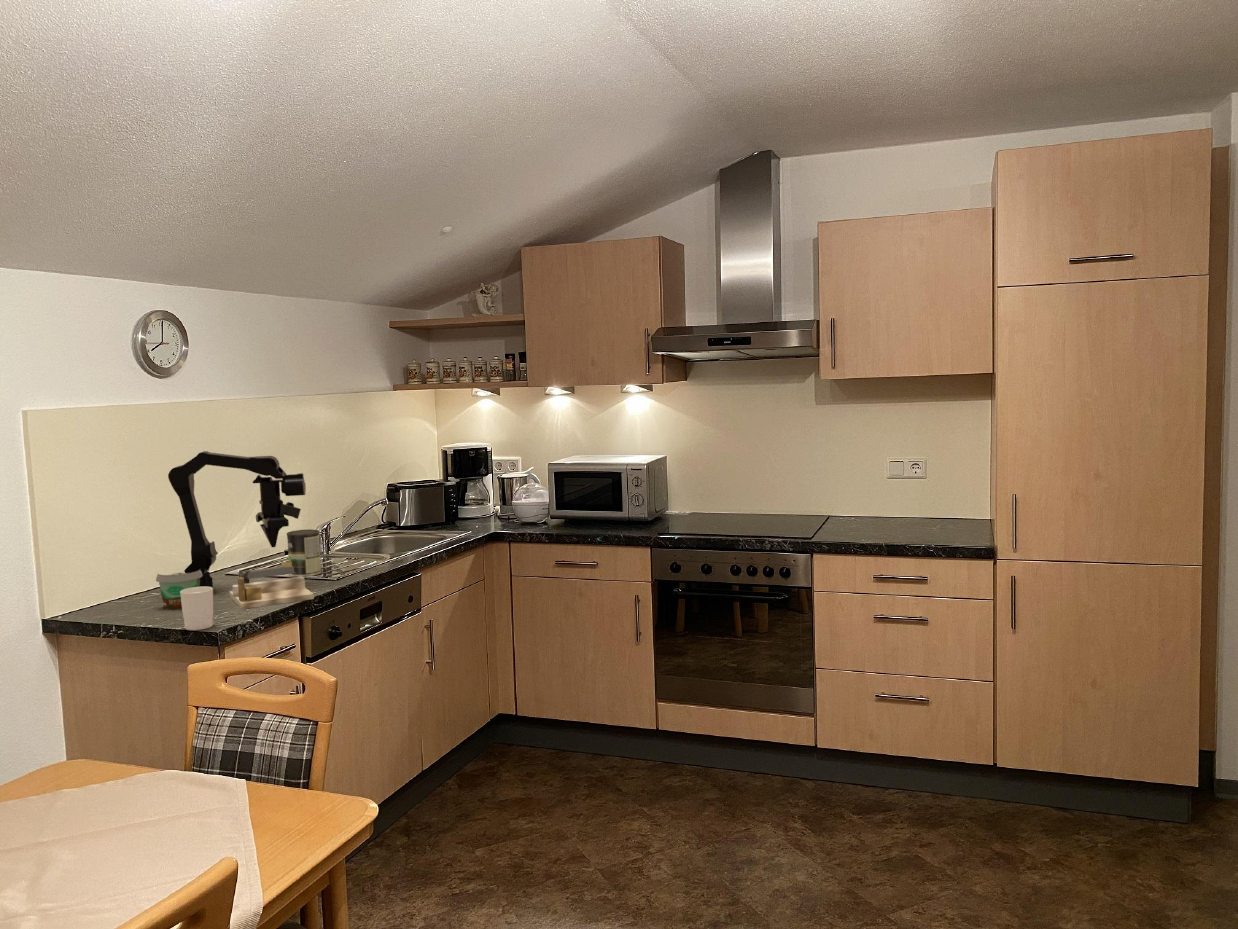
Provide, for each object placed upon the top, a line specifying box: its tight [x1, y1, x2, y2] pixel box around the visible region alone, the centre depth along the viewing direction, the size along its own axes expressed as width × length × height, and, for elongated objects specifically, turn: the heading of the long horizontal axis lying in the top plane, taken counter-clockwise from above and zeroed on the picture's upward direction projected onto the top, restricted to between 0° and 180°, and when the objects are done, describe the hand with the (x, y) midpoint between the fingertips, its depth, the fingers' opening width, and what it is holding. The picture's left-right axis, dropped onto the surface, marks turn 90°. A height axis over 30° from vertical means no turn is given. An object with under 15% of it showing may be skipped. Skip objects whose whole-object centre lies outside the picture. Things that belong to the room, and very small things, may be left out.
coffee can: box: [286, 529, 322, 578], centre depth 316 cm, size 10×10×14 cm
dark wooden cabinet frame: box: [237, 560, 294, 580], centre depth 287 cm, size 16×3×4 cm, turn 121°
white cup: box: [180, 587, 214, 631], centre depth 250 cm, size 8×8×10 cm
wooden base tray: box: [228, 576, 315, 610], centre depth 282 cm, size 20×20×8 cm
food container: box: [155, 570, 203, 610], centre depth 273 cm, size 12×6×10 cm, turn 114°
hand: (273, 547), depth 294 cm, fingers closed
